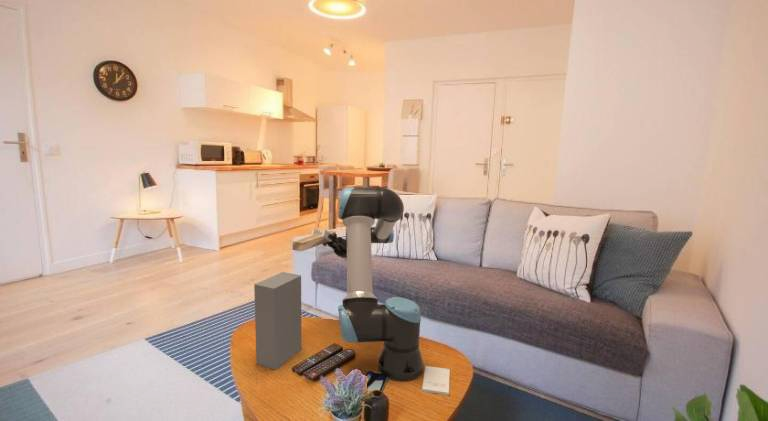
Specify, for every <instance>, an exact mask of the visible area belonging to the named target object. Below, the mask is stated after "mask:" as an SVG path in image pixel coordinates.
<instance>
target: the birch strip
mask: <svg viewBox="0 0 768 421" xmlns="http://www.w3.org/2000/svg"><path fill="white" fill-rule="evenodd" d="M326 230H327V229H326ZM327 231H328V232H330V233H331V234H332V235H333V236H334V234H337V231H335V230H329V229H328V230H327ZM322 233H323V231H320V233H317V234H314V235H311V234H310V235H308V236H305V237H302V238H299V239H295V240H293V241H292V251H297V252H304V251H307V250H309V249H312V248H315V247H317V246H320V245H323V243H326V242H328V240H327V239H325V238H324V237H322Z"/></svg>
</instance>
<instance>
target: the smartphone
mask: <svg viewBox="0 0 768 421" xmlns="http://www.w3.org/2000/svg"><path fill="white" fill-rule="evenodd" d="M365 375H366V376H367V377H368V381H367V390H368V391H372V390H380V391H381V392H382V393H383V391H384V389H385V386H386V385H387V382H388V379H389V378H388V377H387V376H385V375H384V374H383V373H380V371H373V370H367V371H366V373H365V374H364V376H365Z"/></svg>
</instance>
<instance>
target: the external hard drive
mask: <svg viewBox="0 0 768 421" xmlns="http://www.w3.org/2000/svg"><path fill="white" fill-rule="evenodd" d="M423 372H424V374H423V380H422V386H421V387H422V388H421V392H422V393H423V392H424V393H428V394H437V395H441V396H442V395H443V396H450V383H451V382H450V378H451V376H450V374H451V370H450V369H449V368H444V367H437V366H430V365H425V366H424V371H423Z"/></svg>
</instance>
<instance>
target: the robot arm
mask: <svg viewBox="0 0 768 421" xmlns="http://www.w3.org/2000/svg"><path fill="white" fill-rule="evenodd" d="M340 193H341V195H340V200H339V210H338V219H339V220H342V225H343V226H345V239H344V237H343V238H342V237H341V236H338V234H337V233H336V234H334V236H333V235H332V234H331V233H330V232H328V231H327V229H323V231H322V232H323V233H322V237H324V238H325V239H327V240H328V242H326V243H323V244H322V246H324V247H329V248H331V249H332V250H333V253H334V254H335V255H336V256H337V257H340V259H343V261H344V262H346V287H347V288H346V295H345V296H344V297H343V299H342V304H340V305H338V307H337V309H338V318H339V319H338V321H339V327H340V328H339V329H340V333H341V338H342V341H344V342H345V343H355V344H358V343H377V342H383V347H382V349H381V352H380V354H379V357H378V361H377V364H378V365H377V369H378V372H380V373H383V374H384V375H385V376H387V377H388V379H389V380H393V381H398V382H408V381H412V380H416V379H417V378H419V377H420V376H421V375H422V374H423V372H424V360H423V357H422V353H421V350H420V332H421V321H422V318H421V317H422V316H421V308H420V306H419V305H418V304H417V303H416V302H415V301H412V300H411V299H408V298H404V297H399V296H394V297H388V298H387V299H386V300H385V302H384V304H383V303H382V304H379V303H378V301H379V300H378V298H377V296H376V295H375V294H374V292H373V260H372V257H373V256H372V244H392V243H394V238H395V235H394V234H395V233H394V227H395V225H396V223H397V221H399V220H401V218H402V217H403V214H404V210H405V208H404V206H405V205H404V203H403V200H402V198H401V197H400V196H399V195H398V194H397V193H396V192H395V191H393V190H391V189H389V188H386V187H370V186H369V187H368V186H367V187H365V186H364V187H363V186H362V187H361V186H359V187H357V186H350V187H347V186H346V187H344V188H343V189H342V190H341V192H340ZM375 221H376V223H375ZM374 224H375V226H373V225H374ZM320 232H321V231H319V230H318V229H317V228H315V227H313V228H312V231H311V233H310V236H311V235H314V234H317V233H320Z"/></svg>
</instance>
